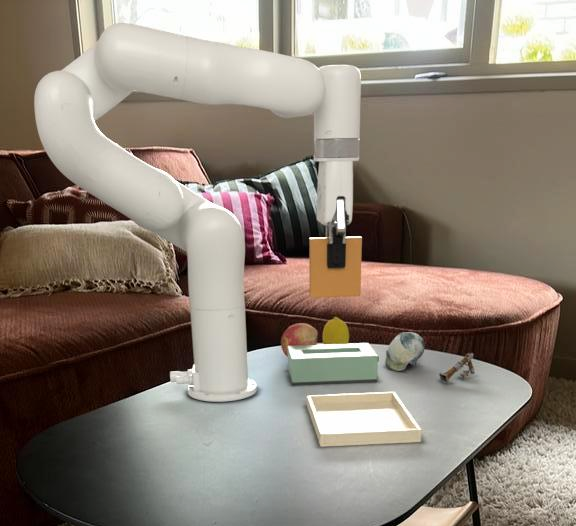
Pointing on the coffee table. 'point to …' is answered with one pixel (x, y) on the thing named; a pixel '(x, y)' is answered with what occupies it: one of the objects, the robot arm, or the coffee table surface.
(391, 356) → the seashell
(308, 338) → the fruit
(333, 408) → the tray
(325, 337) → the lemon
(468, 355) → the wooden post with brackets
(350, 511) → the coffee table surface
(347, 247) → the toast
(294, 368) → the toaster
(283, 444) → the coffee table surface
